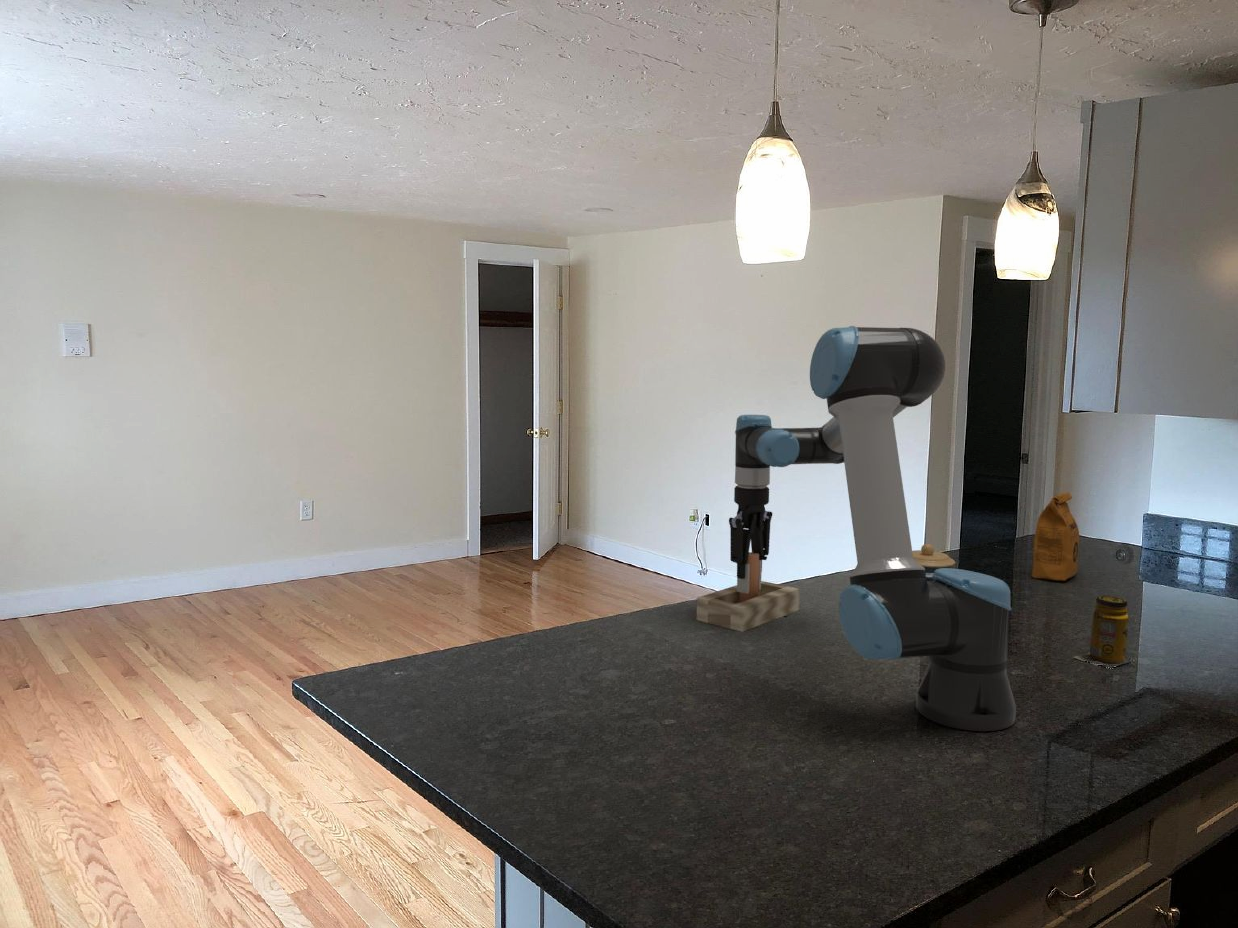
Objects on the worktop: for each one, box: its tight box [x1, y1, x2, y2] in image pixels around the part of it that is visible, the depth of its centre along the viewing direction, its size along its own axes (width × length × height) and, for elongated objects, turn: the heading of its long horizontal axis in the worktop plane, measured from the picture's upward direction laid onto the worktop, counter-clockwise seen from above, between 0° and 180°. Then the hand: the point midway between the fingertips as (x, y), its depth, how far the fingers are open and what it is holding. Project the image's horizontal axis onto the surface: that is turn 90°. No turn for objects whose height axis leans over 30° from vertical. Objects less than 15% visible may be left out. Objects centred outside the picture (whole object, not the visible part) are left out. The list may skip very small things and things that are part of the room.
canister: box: [912, 543, 956, 581], centre depth 195 cm, size 13×13×18 cm
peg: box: [740, 551, 759, 603], centre depth 201 cm, size 4×4×12 cm
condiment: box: [1073, 595, 1135, 670], centre depth 173 cm, size 7×8×12 cm
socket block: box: [696, 580, 800, 633], centre depth 201 cm, size 22×12×5 cm, turn 137°
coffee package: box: [1031, 492, 1081, 582], centre depth 236 cm, size 10×12×22 cm
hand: (749, 589), depth 201 cm, fingers closed on peg, 4 cm apart
